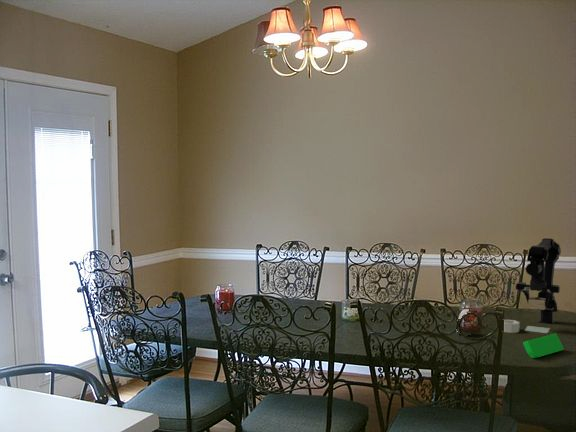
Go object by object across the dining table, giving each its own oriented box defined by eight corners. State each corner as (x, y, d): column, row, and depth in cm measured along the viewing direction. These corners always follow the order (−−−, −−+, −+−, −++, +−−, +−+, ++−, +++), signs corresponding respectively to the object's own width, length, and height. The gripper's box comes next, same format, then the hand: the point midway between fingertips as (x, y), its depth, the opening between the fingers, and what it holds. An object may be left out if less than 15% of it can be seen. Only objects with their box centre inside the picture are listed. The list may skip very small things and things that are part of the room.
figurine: (474, 337, 261) (474, 311, 261) (457, 336, 263) (457, 310, 262) (472, 332, 268) (472, 307, 268) (455, 332, 270) (456, 307, 269)
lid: (530, 305, 276) (530, 295, 276) (546, 306, 272) (546, 296, 272) (528, 308, 270) (528, 298, 270) (544, 309, 266) (544, 299, 266)
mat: (527, 326, 279) (527, 325, 279) (550, 329, 274) (550, 328, 274) (524, 331, 270) (524, 330, 270) (547, 334, 265) (547, 333, 265)
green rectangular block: (545, 356, 245) (537, 340, 248) (564, 349, 238) (556, 333, 241) (516, 364, 234) (508, 347, 237) (535, 357, 227) (527, 340, 230)
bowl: (502, 328, 276) (502, 319, 276) (520, 330, 272) (520, 321, 272) (499, 332, 269) (499, 322, 269) (517, 334, 265) (517, 324, 265)
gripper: (514, 273, 268) (513, 306, 269) (557, 276, 258) (557, 310, 259) (517, 270, 278) (517, 302, 279) (560, 273, 268) (559, 306, 269)
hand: (537, 305), depth 271 cm, fingers closed on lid, 7 cm apart
